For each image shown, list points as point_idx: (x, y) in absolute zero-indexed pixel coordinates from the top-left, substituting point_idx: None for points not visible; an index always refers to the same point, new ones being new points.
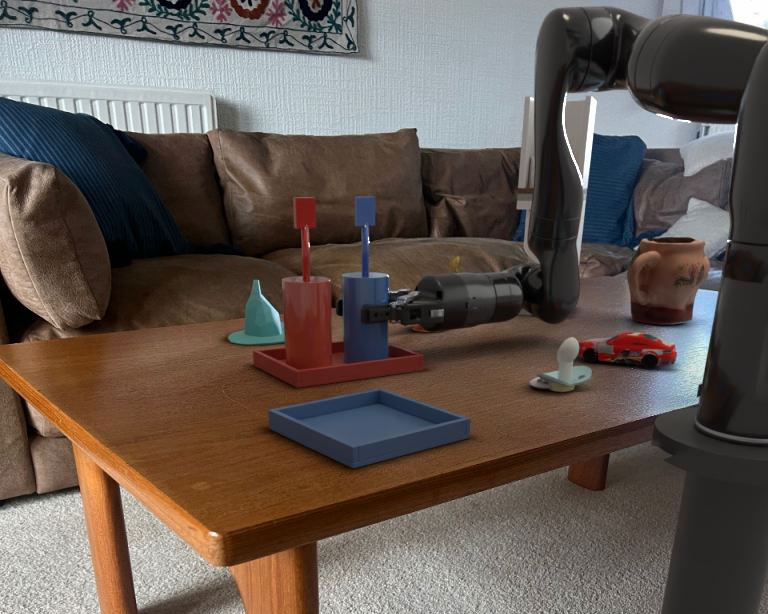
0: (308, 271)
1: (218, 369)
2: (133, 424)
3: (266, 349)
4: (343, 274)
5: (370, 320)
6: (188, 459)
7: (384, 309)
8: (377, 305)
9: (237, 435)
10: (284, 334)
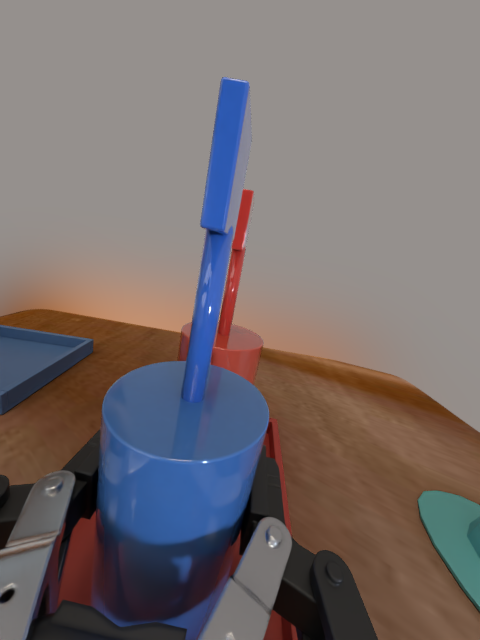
0: (219, 320)
1: (272, 409)
2: (174, 339)
3: (275, 430)
4: (241, 377)
5: None
6: (105, 328)
7: (76, 454)
8: None
9: (106, 344)
10: None
